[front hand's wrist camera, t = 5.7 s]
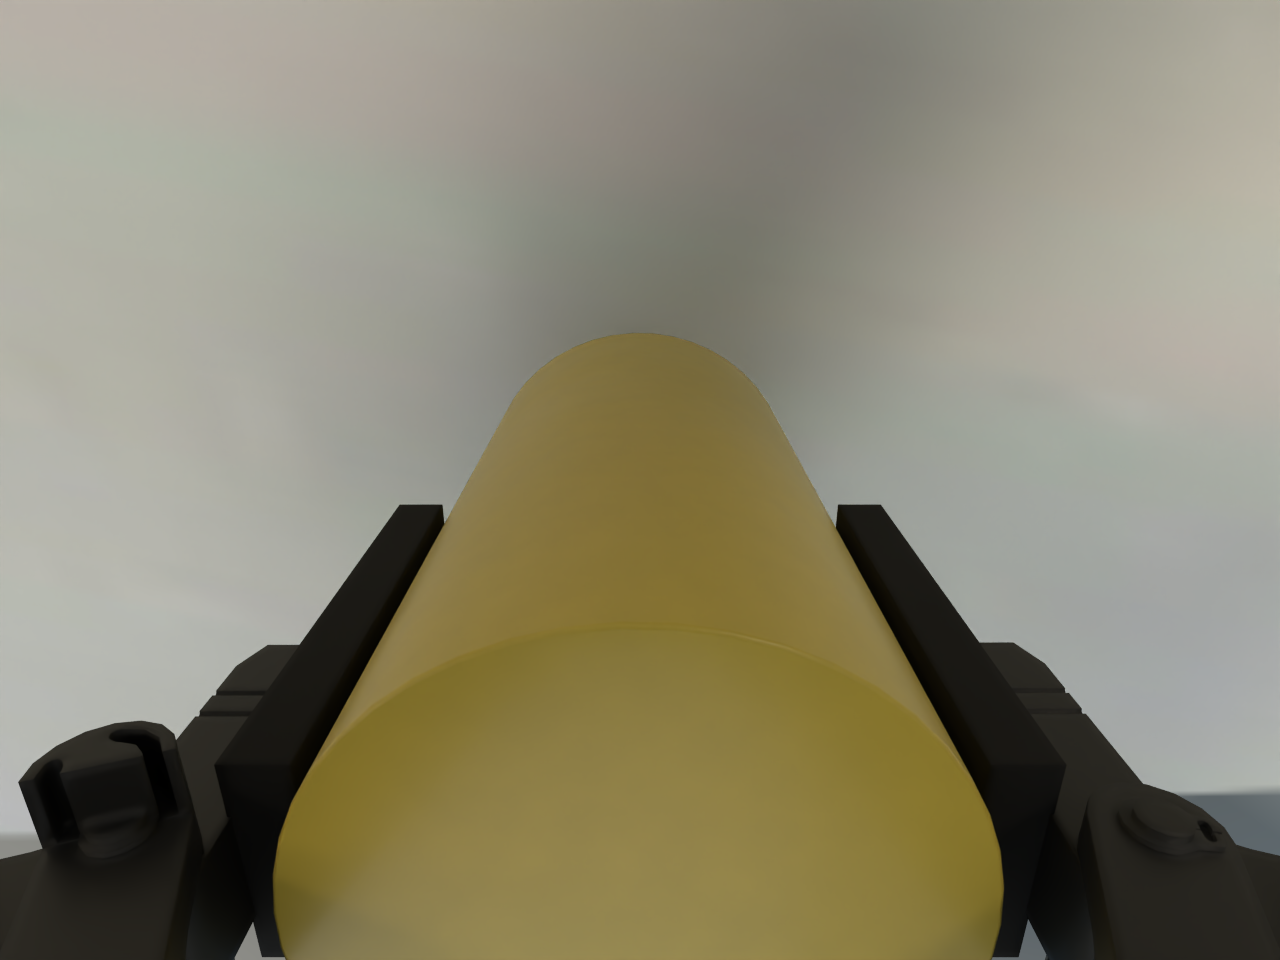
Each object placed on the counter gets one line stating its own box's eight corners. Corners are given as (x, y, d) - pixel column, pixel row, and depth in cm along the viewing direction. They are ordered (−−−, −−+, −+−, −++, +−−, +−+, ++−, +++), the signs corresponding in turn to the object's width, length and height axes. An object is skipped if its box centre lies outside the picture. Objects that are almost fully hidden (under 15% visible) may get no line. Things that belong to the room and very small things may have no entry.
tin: (432, 436, 18) (108, 853, 7) (688, 271, 17) (784, 469, 6) (598, 650, 21) (548, 1227, 9) (837, 519, 19) (1114, 1012, 8)
